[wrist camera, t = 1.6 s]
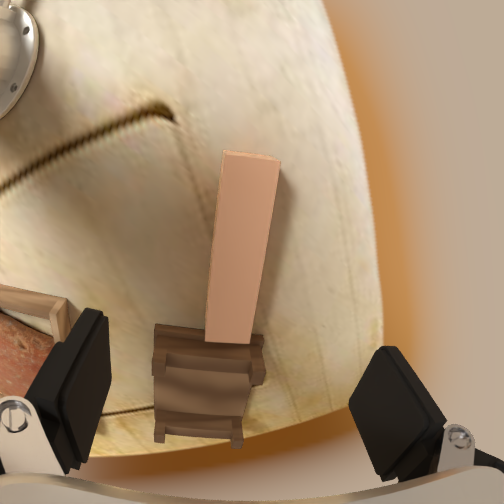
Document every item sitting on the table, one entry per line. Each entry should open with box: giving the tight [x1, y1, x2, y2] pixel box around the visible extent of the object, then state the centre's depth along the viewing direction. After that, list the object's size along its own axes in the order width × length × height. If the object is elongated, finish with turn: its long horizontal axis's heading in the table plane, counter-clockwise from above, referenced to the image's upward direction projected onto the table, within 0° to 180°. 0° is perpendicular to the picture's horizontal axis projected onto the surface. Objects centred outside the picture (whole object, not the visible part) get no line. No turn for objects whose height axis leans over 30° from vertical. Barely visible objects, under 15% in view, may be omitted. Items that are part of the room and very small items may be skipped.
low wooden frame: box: [0, 284, 71, 398], centre depth 29 cm, size 22×22×3 cm
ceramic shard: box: [0, 313, 55, 398], centre depth 28 cm, size 15×6×15 cm
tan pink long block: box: [205, 150, 281, 344], centre depth 26 cm, size 16×4×4 cm, turn 172°
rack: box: [152, 324, 266, 449], centre depth 32 cm, size 15×11×5 cm
